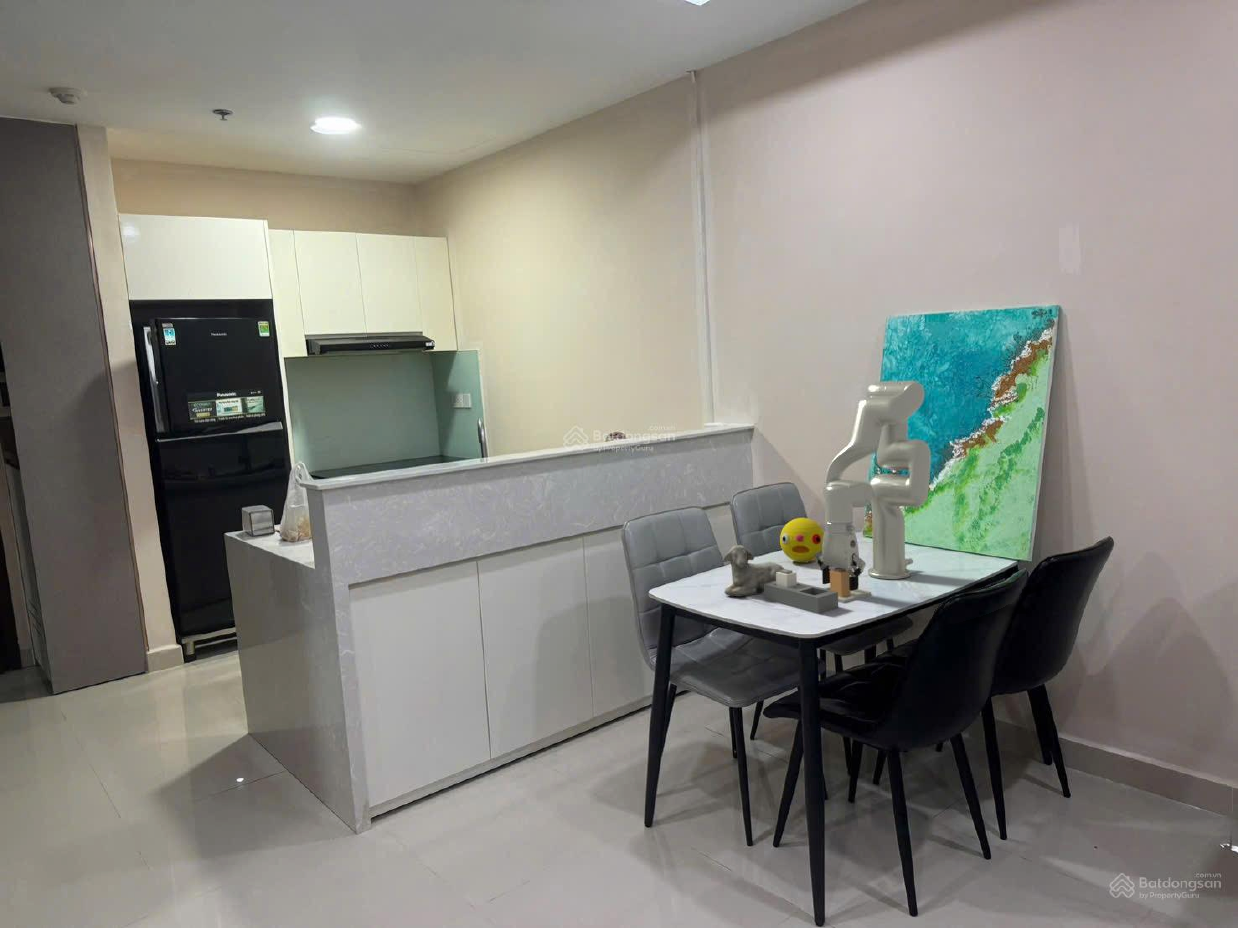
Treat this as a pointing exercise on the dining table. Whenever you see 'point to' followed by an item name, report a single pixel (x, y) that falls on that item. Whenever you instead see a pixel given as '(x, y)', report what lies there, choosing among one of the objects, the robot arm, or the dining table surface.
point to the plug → (840, 581)
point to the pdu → (799, 594)
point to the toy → (801, 539)
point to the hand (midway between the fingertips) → (840, 586)
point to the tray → (852, 595)
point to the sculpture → (748, 572)
